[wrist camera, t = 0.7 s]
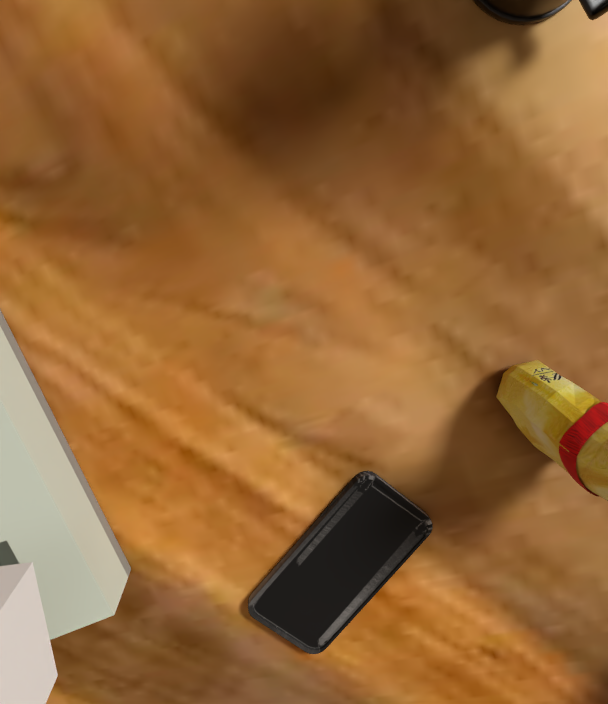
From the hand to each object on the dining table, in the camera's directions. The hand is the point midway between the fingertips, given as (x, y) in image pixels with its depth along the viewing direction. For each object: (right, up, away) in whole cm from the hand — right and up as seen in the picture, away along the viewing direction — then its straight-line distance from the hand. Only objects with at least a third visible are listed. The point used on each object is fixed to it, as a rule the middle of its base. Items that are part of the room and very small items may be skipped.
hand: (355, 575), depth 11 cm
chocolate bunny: (+18, 0, +29) cm, 34 cm away
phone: (+2, -12, +30) cm, 32 cm away
